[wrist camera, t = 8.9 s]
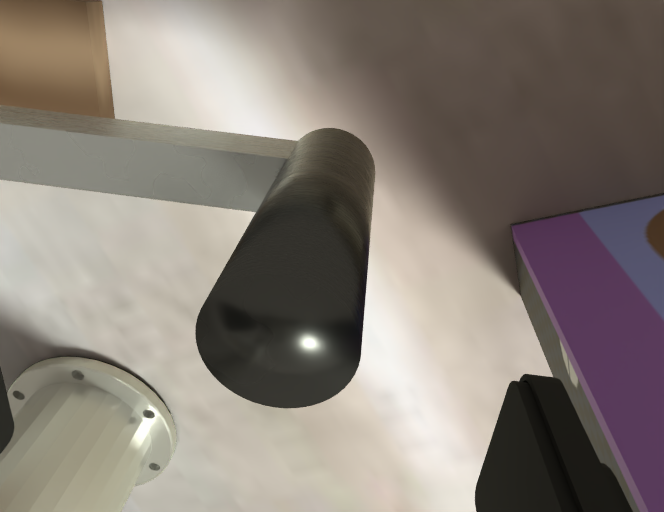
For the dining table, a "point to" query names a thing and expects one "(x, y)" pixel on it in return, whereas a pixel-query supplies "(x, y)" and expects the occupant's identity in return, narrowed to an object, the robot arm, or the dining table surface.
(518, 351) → the dining table surface
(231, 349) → the shaft
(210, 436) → the dining table surface
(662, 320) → the cereal box
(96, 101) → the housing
